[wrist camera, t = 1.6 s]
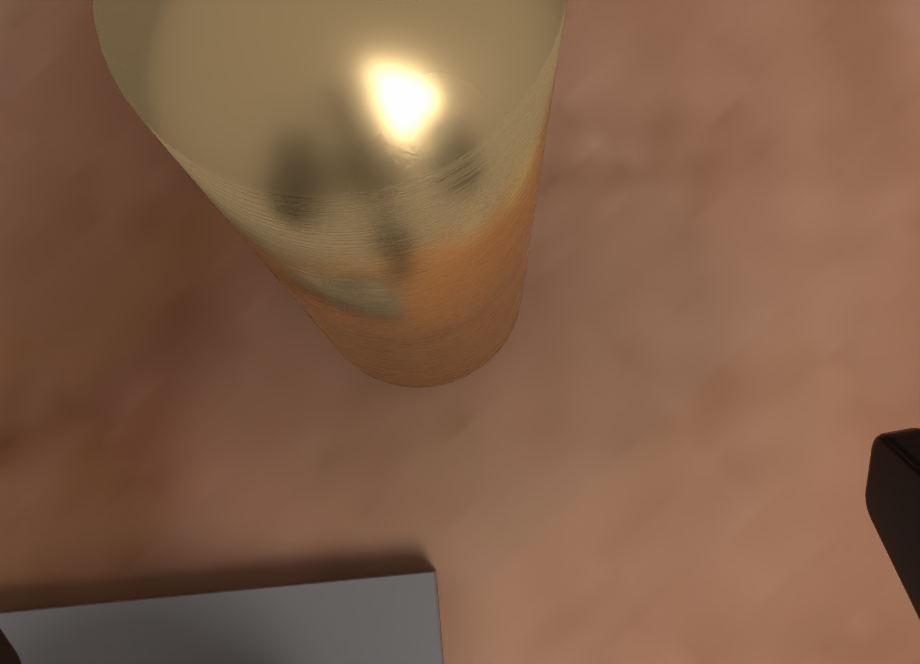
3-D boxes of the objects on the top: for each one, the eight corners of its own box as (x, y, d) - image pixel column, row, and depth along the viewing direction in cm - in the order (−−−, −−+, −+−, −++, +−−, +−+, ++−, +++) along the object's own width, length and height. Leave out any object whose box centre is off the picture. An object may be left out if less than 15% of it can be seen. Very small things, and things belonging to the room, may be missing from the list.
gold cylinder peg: (532, 376, 22) (598, 166, 9) (324, 397, 22) (91, 217, 9) (510, 180, 23) (540, -256, 10) (312, 200, 23) (91, -208, 10)
